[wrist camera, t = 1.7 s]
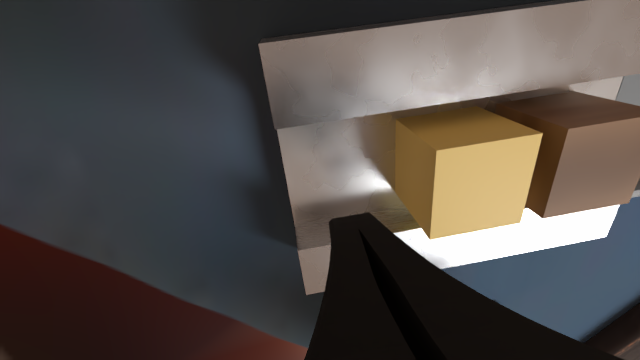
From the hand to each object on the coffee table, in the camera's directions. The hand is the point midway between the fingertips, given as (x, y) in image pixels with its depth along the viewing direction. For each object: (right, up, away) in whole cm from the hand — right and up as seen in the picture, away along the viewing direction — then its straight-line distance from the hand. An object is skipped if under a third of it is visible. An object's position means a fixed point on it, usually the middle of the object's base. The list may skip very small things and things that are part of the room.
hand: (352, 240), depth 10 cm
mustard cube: (+5, +3, +5) cm, 8 cm away
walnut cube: (+10, +4, +6) cm, 12 cm away
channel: (+5, +4, +7) cm, 10 cm away
